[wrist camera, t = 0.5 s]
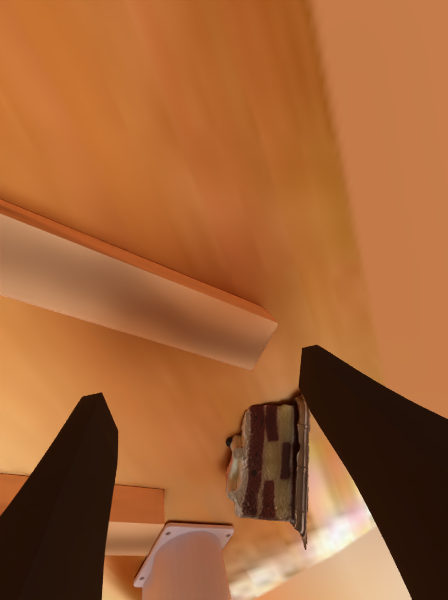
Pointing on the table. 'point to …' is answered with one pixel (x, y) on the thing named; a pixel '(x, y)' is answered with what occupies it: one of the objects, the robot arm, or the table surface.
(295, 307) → the table surface
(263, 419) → the chocolate cake
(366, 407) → the robot arm
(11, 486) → the shelf board
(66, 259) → the shelf board
